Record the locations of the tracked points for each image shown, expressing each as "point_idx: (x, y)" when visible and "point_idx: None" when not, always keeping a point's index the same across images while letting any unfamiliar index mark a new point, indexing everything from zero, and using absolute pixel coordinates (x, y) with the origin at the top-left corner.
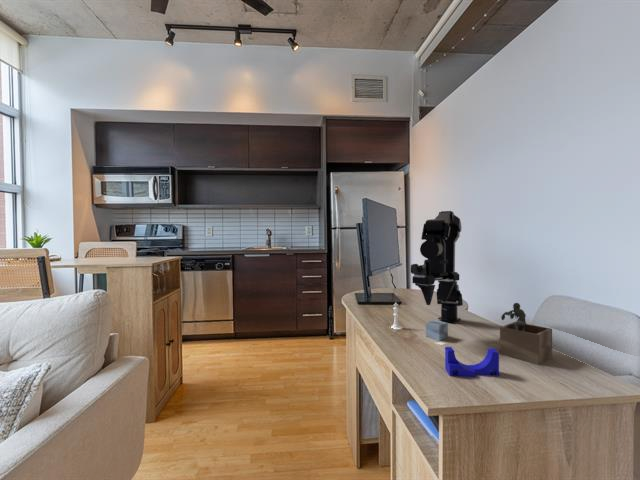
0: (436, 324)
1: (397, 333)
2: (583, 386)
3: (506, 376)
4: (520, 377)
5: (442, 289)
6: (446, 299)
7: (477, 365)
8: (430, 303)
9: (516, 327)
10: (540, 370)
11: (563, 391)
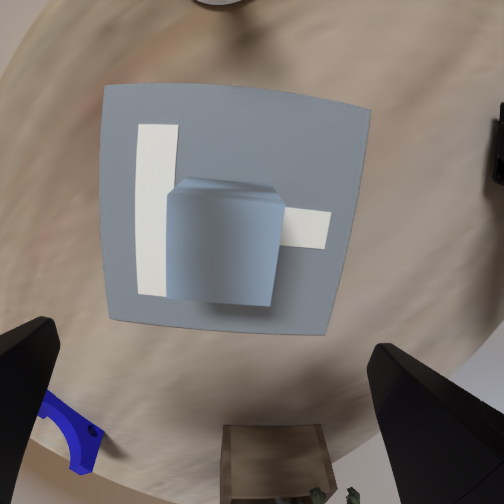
0: (176, 274)
1: (156, 20)
2: (178, 493)
3: (104, 444)
4: (124, 456)
5: (463, 444)
6: (374, 395)
7: (65, 422)
8: (53, 363)
9: (275, 501)
10: (192, 470)
11: (134, 482)
